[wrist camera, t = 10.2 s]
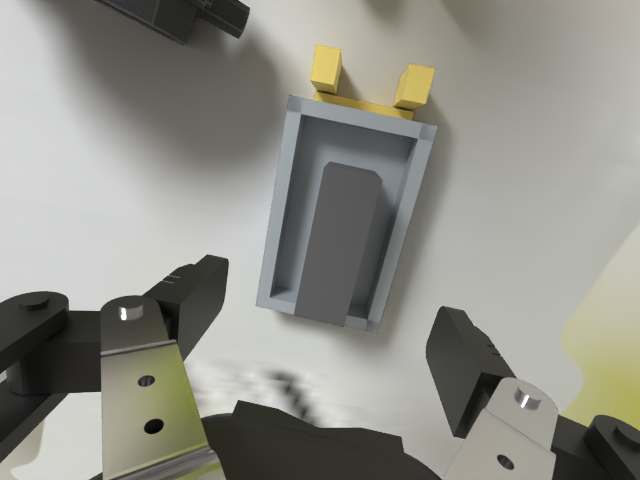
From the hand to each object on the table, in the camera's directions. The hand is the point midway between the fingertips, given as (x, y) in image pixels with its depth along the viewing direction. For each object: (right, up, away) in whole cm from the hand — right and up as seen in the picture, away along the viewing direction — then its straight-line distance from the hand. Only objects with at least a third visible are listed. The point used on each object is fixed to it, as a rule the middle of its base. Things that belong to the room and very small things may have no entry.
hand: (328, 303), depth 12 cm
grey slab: (+1, +3, +14) cm, 14 cm away
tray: (+1, +4, +14) cm, 15 cm away
